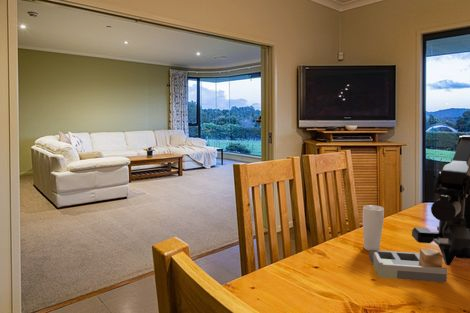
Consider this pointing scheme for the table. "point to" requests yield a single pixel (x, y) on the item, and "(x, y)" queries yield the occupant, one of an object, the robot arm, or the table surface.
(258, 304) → the table surface
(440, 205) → the robot arm
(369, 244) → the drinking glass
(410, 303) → the table surface
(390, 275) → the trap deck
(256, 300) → the table surface
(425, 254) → the ochre block
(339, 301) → the table surface
